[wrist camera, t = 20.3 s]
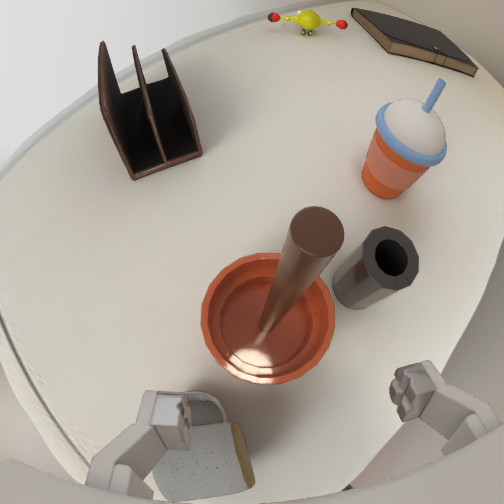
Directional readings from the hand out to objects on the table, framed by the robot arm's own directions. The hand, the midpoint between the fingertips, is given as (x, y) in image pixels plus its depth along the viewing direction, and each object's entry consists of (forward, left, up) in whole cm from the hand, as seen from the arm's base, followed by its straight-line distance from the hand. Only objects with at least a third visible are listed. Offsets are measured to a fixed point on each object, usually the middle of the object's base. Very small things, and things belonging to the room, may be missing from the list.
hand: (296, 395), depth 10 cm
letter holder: (+37, +6, -19) cm, 42 cm away
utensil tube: (+6, -12, -19) cm, 23 cm away
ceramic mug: (-5, +8, -19) cm, 21 cm away
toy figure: (+60, -29, -19) cm, 69 cm away
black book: (+61, -65, -19) cm, 91 cm away
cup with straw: (+18, -22, -19) cm, 34 cm away
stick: (+5, -2, -18) cm, 19 cm away
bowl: (+5, -1, -19) cm, 20 cm away
